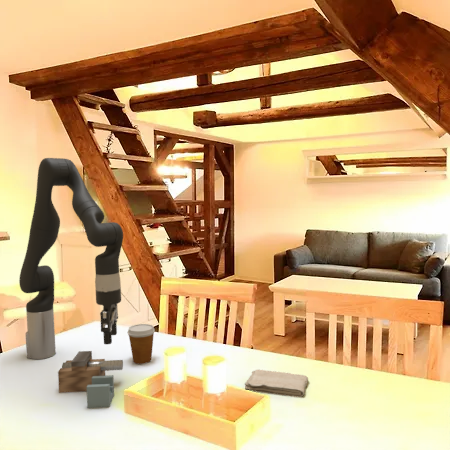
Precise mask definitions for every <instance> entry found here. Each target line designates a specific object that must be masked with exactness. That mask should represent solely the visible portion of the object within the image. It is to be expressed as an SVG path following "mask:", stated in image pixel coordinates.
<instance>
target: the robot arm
mask: <svg viewBox="0 0 450 450" xmlns="http://www.w3.org/2000/svg"><path fill="white" fill-rule="evenodd" d="M37 169H38V172H37V180H36V192H35V194H36V195H35V203H34V207H33V208H34V209H33V213H32V217H31V222H30V223H31V224H30V228H29V229H30V230H29V236H28V243H27V246H26V247H27V248H26V253H25V256H24V259H23V262H22V266H21V269H20V274H19V280H18V281H19V287H20V290H21V291H22V292H23V293H25V294H34V293H37V295H35V297H34V298H32V299H31V300H29V301H28V302H27V303H26V304H25V308H26V309H25V311H26V312H25V313H26V326H27V331H26V332H25V347H26V358H27V359H32V360H43V359H44V360H45V359H47V358H51V357H53V356H54V355H55V354H56V353H57V352H56V335H55V331H56V330H55V314H54V304H55V303H54V302H55V275H54V270H53V269H52V268H51V266H49V265H40V263H41V261H42V260H43V258H44V256H46V254H47V253H48V251H50V249H51V248H52V247H53V246H54V245H55V243H56V241H57V240H58V235H59V232H60V226H61V219H60V216H59V213H58V211H57V210H56V207H55V206H54V203H53V200H52V199H53V198H52V192H53V188H54V187H68V189H70V190H71V191H72V198H71V205H72V209H73V211H74V213H75V215H76V216H77V217H78V219H79V220H80V222H81V223H82V226H83V228H84V230H85V235H86V237H87V240H88V242H89V243H90V244H91V245H92V246H94V247H95V248H100V247H105V250H104V252H102V253H99V254H98V255H96V256H95V259H94V265H95V266H94V268H95V278H94V280H95V281H94V284H95V285H94V286H95V302H96V304H97V305H98V306H102V310H101V311H100V313H99V315H100V332H101V333H103V334H102V335H103V344H104V345H111V344H112V343H113V342H112V341H113V340H112V339H113V338H112V336H116V335H117V333H118V331H117V330H118V328H117V327H118V326H117V322H118V319H119V314H118V304H119V303H121V302H122V286H121V283H122V281H121V277H120V264H119V263H120V261H119V260H120V254H121V250H122V246H123V245H122V244H123V242H124V241H123V240H124V231H123V228H122V227H121V225H120V224H119V223H118V222H112V221H111V222H104V219H105V213H104V211H103V210H102V209H101V207H100V206H99V205H98V203H97V202H96V201H95V200H94V198H93V196H92V195H91V193H90V192H89V190H88V188H87V186H86V184H85V182H84V180H83V178H82V176H81V174H80V172H79V169H78V167H77V166H76V165H75V163H74V162H73V161H72V160H71V159H68V158H59V157H58V158H57V157H46V158H45V157H44V158H43V159H42V160H40V163H39V166H38V168H37ZM106 326H107V327H106Z"/></svg>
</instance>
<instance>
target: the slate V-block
mask: <svg viewBox="0 0 450 450" xmlns="http://www.w3.org/2000/svg"><path fill="white" fill-rule="evenodd" d="M114 378H115V377H114V375H113V374H112V375H105V376H93V377H92V385H87V391H86V401H87V402H86V405H87V407H86V408H87V409H97V408H98V409H99V408H110V406H111V404H112V401H113V399H114V398H115V397H114V396H115V385H114V384H115V382H114V381H115V379H114Z"/></svg>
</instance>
